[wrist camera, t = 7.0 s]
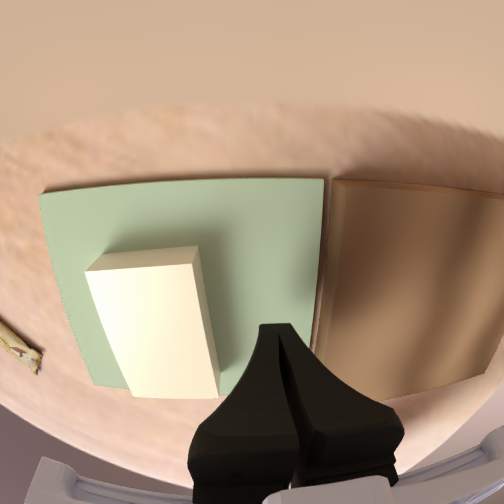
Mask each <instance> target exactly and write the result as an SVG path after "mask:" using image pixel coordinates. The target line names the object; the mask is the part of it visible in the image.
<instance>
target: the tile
mask: <svg viewBox="0 0 504 504" xmlns="http://www.w3.org/2000/svg"><path fill="white" fill-rule="evenodd" d="M85 274H86V278H87V281H88V284H89V287H90V290H91V294H92V297H93V300H94V303H95V305H96V308H97V311H98V314H99V317H100V319H101V322H102V325H103V328H104V330H105V333H106V335H107V338H108V340H109V343H110V345H111V348H112V350H113V353H114V355H115V357H116V360H117V362H118V364H119V367H120V369H121V371H122V373H123V376H124V378H125V380H126V382H127V384H128V386H129V388H130V391H131V393H132V395H133V397H149V398H219V392H220V377H221V372H220V367H219V362H218V357H217V351H216V346H215V341H214V336H213V330H212V325H211V319H210V314H209V308H208V302H207V296H206V290H205V284H204V278H203V272H202V265H201V259H200V252H199V246H198V245H196V246H184V247H173V248H162V249H151V250H140V251H129V252H118V253H108V254H101V255H100V256H99V257H98V258H97V259H96V260H95V261H94V262H93V264H92V265H91V266H90V267H89V268H88V269H87V270H86V271H85Z"/></svg>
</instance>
